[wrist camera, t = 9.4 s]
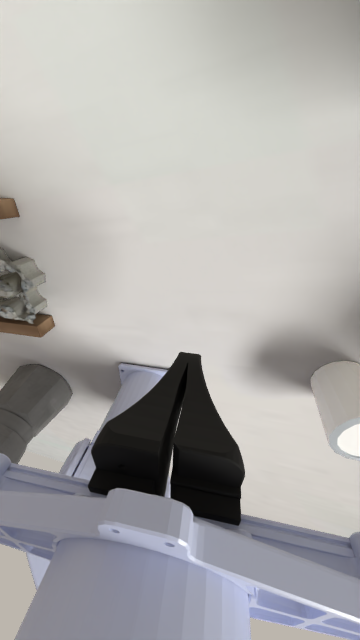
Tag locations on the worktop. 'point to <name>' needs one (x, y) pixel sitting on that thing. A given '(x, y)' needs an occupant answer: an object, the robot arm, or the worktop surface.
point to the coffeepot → (29, 406)
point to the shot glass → (339, 405)
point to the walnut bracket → (42, 323)
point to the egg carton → (20, 288)
